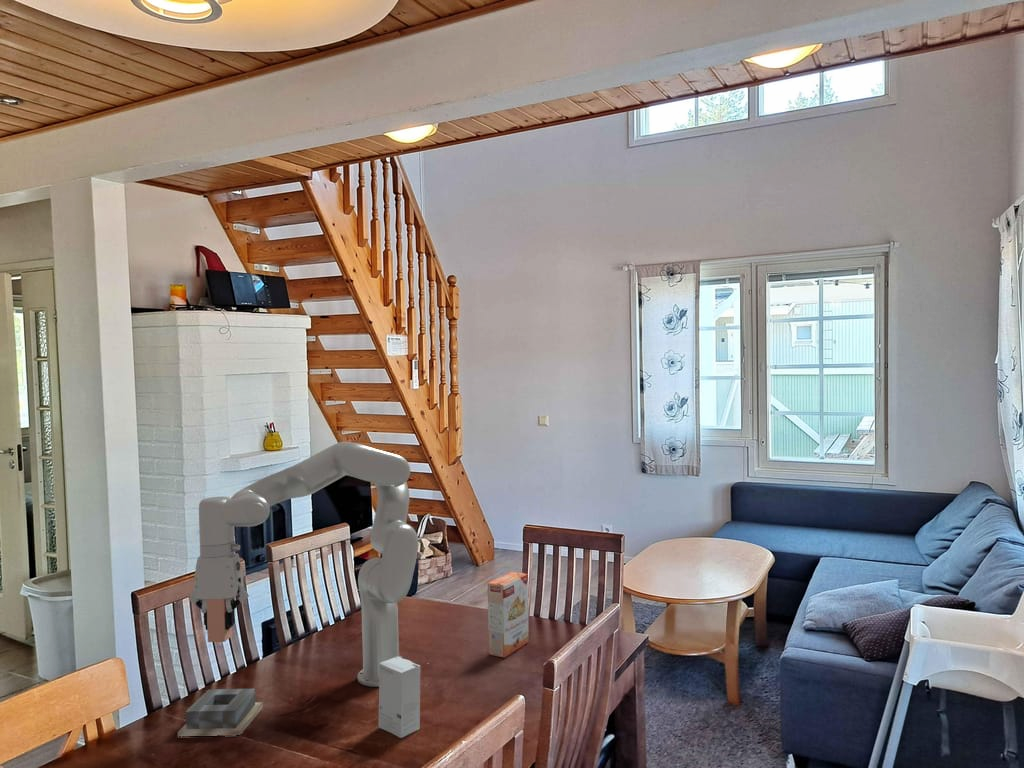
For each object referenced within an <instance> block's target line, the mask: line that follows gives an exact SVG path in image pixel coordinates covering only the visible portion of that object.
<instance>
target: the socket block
mask: <svg viewBox="0 0 1024 768" xmlns="http://www.w3.org/2000/svg"><path fill="white" fill-rule="evenodd" d="M263 706H264V705H263V702H261V701H259V702H256V688H225V689H224V688H221V689H220V688H219V689H217V688H216V689H215V688H213V689H212V688H211V689H210V688H209V689H207V690H206V691H205V693H203V694H202V695H201V696H200V697H199V698H198V699H197V700H196V701H195V702H194V703H193V704H192V705H191V706H190V707H188V708H187V710H186V711H185V724H184V725H183V726H182V727H181V728H180V729H179V730H178V731H177V738H183V737H182V736H217V735H240V734H241V735H242V734H243V733H244V731H245V730H246V729H247V728H248V726H250V724H251V722H252V721H253V720H254V719H255V718H256V716H258V714H259V713H260V712H261V710H262V709H263V708H264V707H263ZM241 735H240V736H241ZM179 736H181V737H179Z"/></svg>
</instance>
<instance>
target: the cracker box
mask: <svg viewBox="0 0 1024 768" xmlns="http://www.w3.org/2000/svg"><path fill="white" fill-rule="evenodd" d="M528 580H529V574H527V573H523V572H515V571H511V572H509V573H507V574H505V575H503V576H501V577H498V578H496V579H493V580H491V581H489V582H487V623H488V624H487V625H488V626H487V629H488V630H487V631H488V636H487V637H488V655H489V656H494V657H498V658H503V659H505V658H506V657H508V656H510V655H511V654H513V653H514V652H516V651H517V650H519V649H522V647H524V646H526V645H527V644H529V643H528V642H529V641H530V638H529V636H530V635H529V581H528ZM525 644H526V645H525Z"/></svg>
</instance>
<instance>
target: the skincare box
mask: <svg viewBox="0 0 1024 768" xmlns="http://www.w3.org/2000/svg"><path fill="white" fill-rule="evenodd" d="M411 661H412V660H409V659H405V658H404V657H402V658H400V657H395V658H392V659H389V660H387V661H384V662H381V663H379V664H380V670H379V687H378V728H379V729H381V730H384V731H386V732H388V733H391V734H392V735H394V736H396V737H397V738H399V739H403V738H404V737H406V736H409V735H411V734H412V733H414V732H417V731H418V730H420V726H421V725H420V721H421V720H420V719H421V665H420V664H417V663H414V662H413V661H412V662H411Z"/></svg>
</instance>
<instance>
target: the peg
mask: <svg viewBox="0 0 1024 768" xmlns="http://www.w3.org/2000/svg"><path fill="white" fill-rule="evenodd" d="M226 612H227V609H226V604H225V600H224V599H207V630H206V631H207V643H225V642H226V641H228V640H229V639H231V637H232V636H233V626H232V627H231V628H230V629H229V630H226V629H225V613H226Z"/></svg>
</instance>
